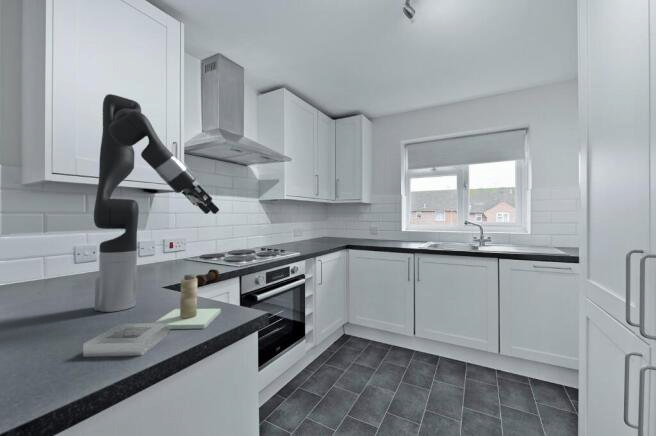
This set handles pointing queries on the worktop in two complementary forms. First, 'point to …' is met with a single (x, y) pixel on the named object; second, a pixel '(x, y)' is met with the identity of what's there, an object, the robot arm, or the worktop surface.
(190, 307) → the key peg
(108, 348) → the grey square frame
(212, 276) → the bolt
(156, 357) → the worktop surface
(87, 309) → the worktop surface
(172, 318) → the set down board
